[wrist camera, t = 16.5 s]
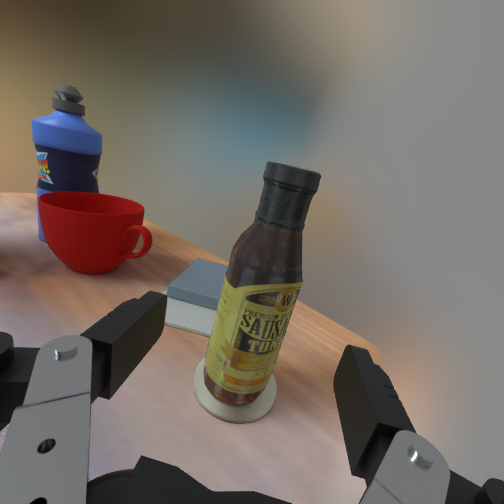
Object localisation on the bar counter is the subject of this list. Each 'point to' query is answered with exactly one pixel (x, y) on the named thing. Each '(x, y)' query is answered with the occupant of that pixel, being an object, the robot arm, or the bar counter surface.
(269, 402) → the coaster
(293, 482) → the bar counter surface
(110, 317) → the robot arm
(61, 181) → the water bottle
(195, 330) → the mat
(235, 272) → the sauce bottle
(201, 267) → the tile
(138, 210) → the ceramic cup
